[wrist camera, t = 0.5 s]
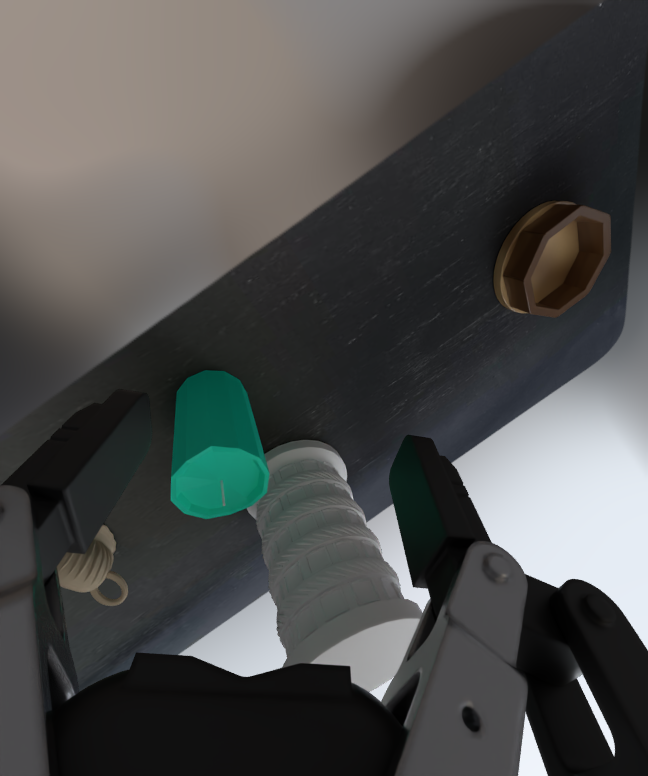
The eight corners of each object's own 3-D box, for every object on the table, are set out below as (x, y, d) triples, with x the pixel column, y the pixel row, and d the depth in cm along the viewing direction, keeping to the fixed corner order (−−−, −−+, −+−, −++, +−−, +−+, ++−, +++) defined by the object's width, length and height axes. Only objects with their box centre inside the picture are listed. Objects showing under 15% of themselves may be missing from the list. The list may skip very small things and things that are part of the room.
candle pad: (524, 188, 29) (560, 188, 26) (596, 213, 33) (635, 215, 30) (477, 305, 34) (503, 315, 31) (545, 315, 38) (574, 325, 35)
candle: (257, 380, 30) (290, 472, 20) (233, 433, 32) (253, 541, 22) (187, 360, 27) (186, 458, 17) (166, 420, 29) (154, 539, 19)
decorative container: (354, 438, 37) (460, 599, 23) (330, 512, 42) (404, 683, 28) (250, 440, 33) (298, 643, 18) (237, 523, 38) (266, 734, 23)
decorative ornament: (72, 506, 30) (51, 560, 25) (141, 545, 35) (134, 596, 30) (32, 530, 30) (5, 589, 25) (107, 566, 34) (95, 621, 30)
